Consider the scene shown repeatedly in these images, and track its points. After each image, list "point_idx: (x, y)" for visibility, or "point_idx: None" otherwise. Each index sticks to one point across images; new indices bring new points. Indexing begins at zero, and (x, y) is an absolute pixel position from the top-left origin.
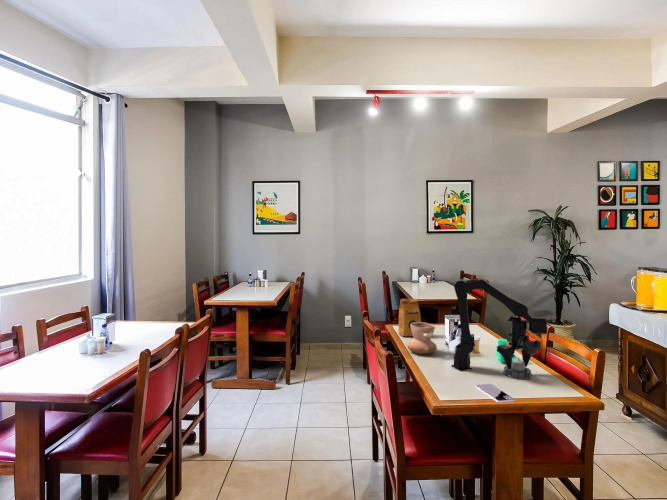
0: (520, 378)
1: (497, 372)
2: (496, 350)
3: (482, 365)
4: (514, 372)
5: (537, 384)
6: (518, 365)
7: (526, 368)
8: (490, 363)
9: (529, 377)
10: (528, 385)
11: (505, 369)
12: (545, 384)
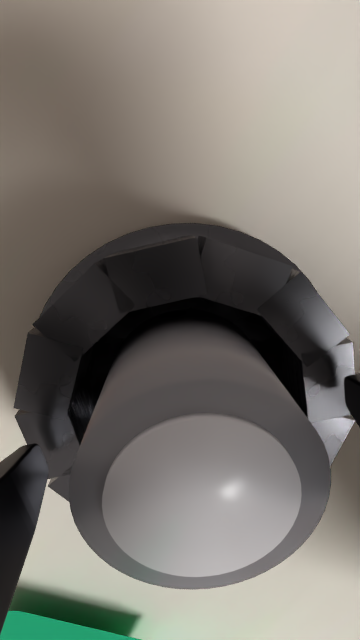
0: (255, 238)
1: (344, 452)
2: None
3: (347, 598)
4: (325, 306)
5: (140, 34)
6: (265, 379)
7: (49, 414)
8: (242, 630)
9: (122, 242)
10: (293, 19)
11: (335, 433)
12: (20, 11)
